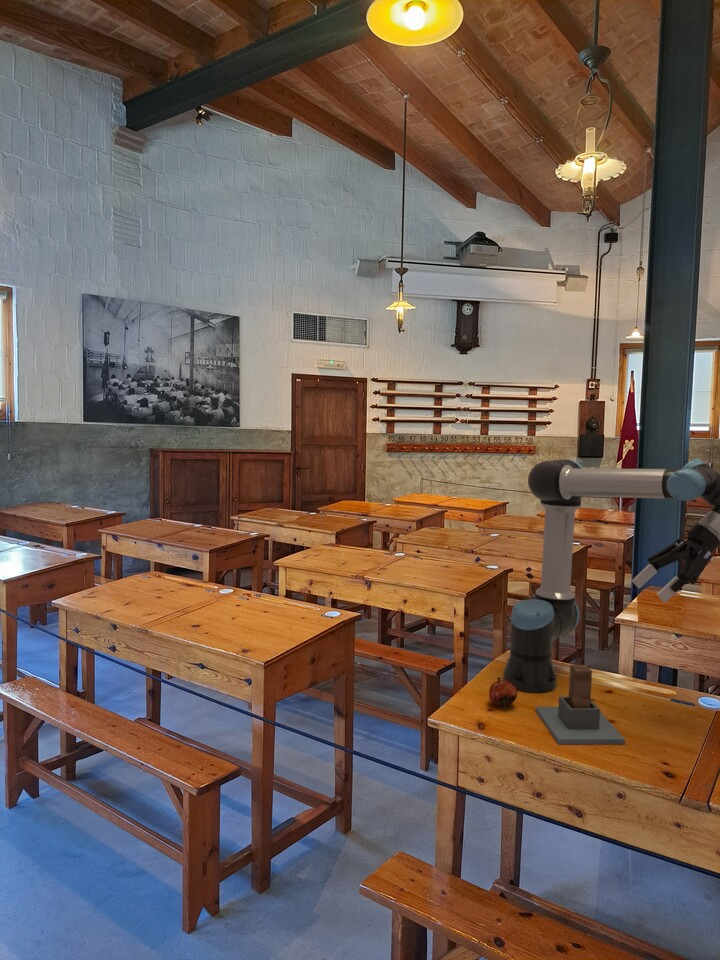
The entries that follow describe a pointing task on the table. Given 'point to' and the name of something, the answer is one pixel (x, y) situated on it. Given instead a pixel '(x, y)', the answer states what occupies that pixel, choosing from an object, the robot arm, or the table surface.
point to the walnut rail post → (580, 686)
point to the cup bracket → (578, 724)
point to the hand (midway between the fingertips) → (647, 591)
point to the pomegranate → (502, 693)
